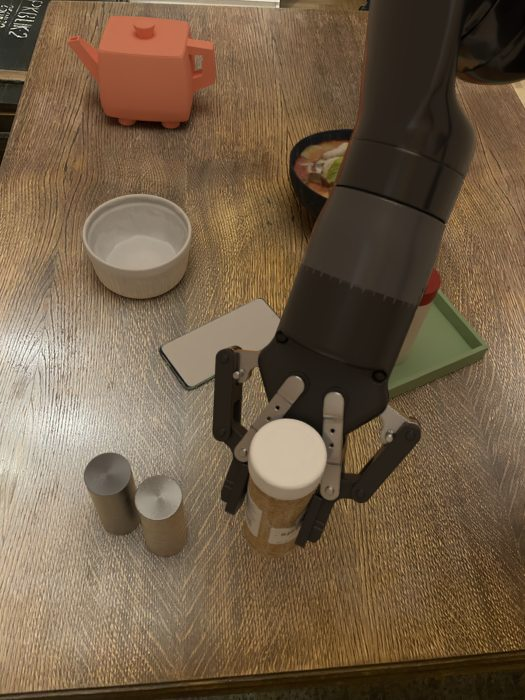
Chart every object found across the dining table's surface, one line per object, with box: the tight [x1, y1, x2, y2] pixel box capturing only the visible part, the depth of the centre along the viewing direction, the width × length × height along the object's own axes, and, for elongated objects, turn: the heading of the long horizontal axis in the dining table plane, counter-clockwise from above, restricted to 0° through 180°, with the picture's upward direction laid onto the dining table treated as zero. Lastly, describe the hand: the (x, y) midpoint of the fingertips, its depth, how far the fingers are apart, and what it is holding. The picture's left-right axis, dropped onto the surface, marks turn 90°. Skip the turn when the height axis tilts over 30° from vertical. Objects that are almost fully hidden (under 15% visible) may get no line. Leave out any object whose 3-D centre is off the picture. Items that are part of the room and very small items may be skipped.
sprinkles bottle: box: [242, 419, 327, 559], centre depth 40 cm, size 5×5×14 cm
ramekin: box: [81, 193, 193, 300], centre depth 76 cm, size 13×13×7 cm
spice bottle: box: [395, 267, 442, 365], centre depth 68 cm, size 5×5×13 cm
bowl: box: [288, 128, 354, 221], centre depth 84 cm, size 17×17×10 cm
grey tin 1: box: [83, 452, 141, 536], centre depth 56 cm, size 4×4×10 cm
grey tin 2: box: [134, 474, 188, 558], centre depth 55 cm, size 4×4×10 cm
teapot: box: [67, 15, 217, 129], centre depth 94 cm, size 22×13×14 cm, turn 89°
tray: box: [388, 288, 490, 400], centre depth 73 cm, size 18×11×3 cm, turn 117°
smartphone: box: [158, 297, 281, 390], centre depth 73 cm, size 7×1×15 cm
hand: (267, 524), depth 40 cm, fingers closed on sprinkles bottle, 4 cm apart
